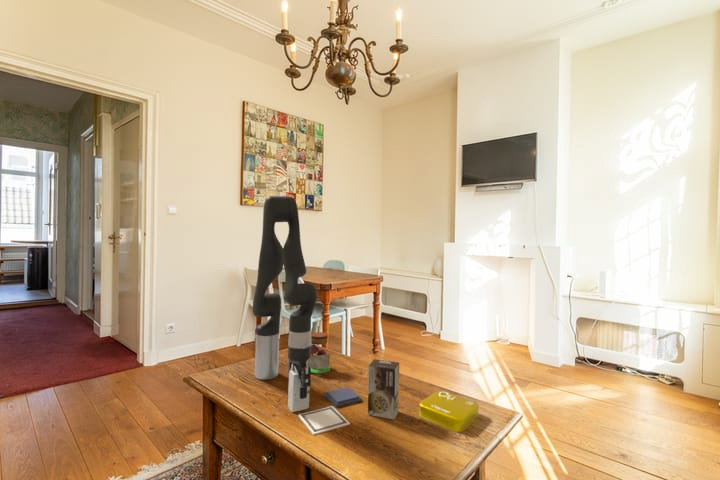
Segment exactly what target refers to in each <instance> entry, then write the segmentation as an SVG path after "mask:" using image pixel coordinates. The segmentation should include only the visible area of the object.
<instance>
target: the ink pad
mask: <svg viewBox="0 0 720 480" xmlns="http://www.w3.org/2000/svg"><path fill="white" fill-rule="evenodd" d="M323 396H324V398H326V399H327V400H328V402H330V403H331V404H332V406H333V407H334V408H335V409H338V408H340V407H344V406H349V405H352V404H357V403H361V402H363V398H362V397H361V396H359V394H357V393H356V392H355V391H354V390H352V389H351V388H350V387H342V388H338V389H334V390H329V391H326V392H323Z"/></svg>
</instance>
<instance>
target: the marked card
mask: <svg viewBox="0 0 720 480" xmlns="http://www.w3.org/2000/svg"><path fill="white" fill-rule="evenodd" d="M297 416H298V418H299V419H300V420H301V422H302V423H303V424H304V425H305V427H306V428H307V429H308V431H309V432H310V433H311V434H312V435H313V436H314V435H315V436H316V435H318V434H322V433H325V432H328V431H332V430H336V429H338V428H343V427H346V426H348V425H351V423H350V422H349V421H348V420H347V418H345V417H344V415H342V414H341V413H340V411H338V409H337V408H336V407H335V406H334V405H331V406H327V407H323V408H319V409H316V410H315V409H314V410H312V411H307V412H304V413H299V414H298V415H297Z"/></svg>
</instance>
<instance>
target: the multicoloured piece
mask: <svg viewBox="0 0 720 480" xmlns="http://www.w3.org/2000/svg"><path fill="white" fill-rule="evenodd" d="M328 335H329V334H328V333H326V332H323V331H321V332H320V331H317V332H313V333H312V332H311V358H310V359H308V360H307V361H306V364H307V367H310V368H311V374H316V375H317V374H318V375H319V374H325V373H328V372H330V371H331V366H330V358H331V357H330V355H331V354H330V353H329V354H327V351H325V350H324V349H320V348H319V347H318V346H317V345H319V346H321V345H326V344H328V339H329V336H328Z"/></svg>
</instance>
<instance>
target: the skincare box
mask: <svg viewBox="0 0 720 480" xmlns="http://www.w3.org/2000/svg"><path fill="white" fill-rule="evenodd" d="M300 377H302V376H300ZM307 380H308V379H307ZM310 387H311V386H309V387H307V398H304V399H301V398H300V383H299V381H298V380H297V376H296V372H295V371H294V370H292V371H289V372H288V389H287V391H288V393H287V408H288V409H289V410H290V411H291V412H292V413H294V412H299V411H304V410H308V409H309V408H310V389H311V388H310Z"/></svg>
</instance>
